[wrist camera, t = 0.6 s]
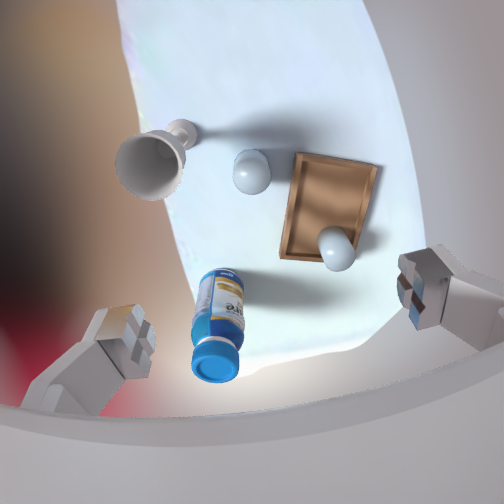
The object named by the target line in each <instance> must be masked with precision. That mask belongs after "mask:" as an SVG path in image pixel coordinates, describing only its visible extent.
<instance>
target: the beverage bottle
mask: <svg viewBox="0 0 504 504" xmlns="http://www.w3.org/2000/svg"><path fill="white" fill-rule="evenodd" d="M243 291H244V287H243V282H242V280H241V278H240V277H239V276H238V275H237V274H236V273H234V272H232V271H230V270H227V269H215V270H211V271H209V272H208V273H206V274H205V275H204V276H203V277H202V279H201V281H200V285H199V293H198V298H197V303H196V309H195V313H194V315H193V319H192V327H193V328H192V330H191V338H192V342H193V345H194V347H195V349H194V351H193V356H192V363H191V364H192V365H191V366H192V371H193V373H194V374H195V375H196V376H197V377H198V378H200V379H201V380H204V381H206V382H210V383H224V382H228V381H230V380H232V379H234V378H235V377H236V376H237V374H238V371H239V353H238V351H239V350H240V348H241V346H242V344H243V341H244V328H245V320H244V317H243Z"/></svg>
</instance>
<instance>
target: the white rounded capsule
mask: <svg viewBox="0 0 504 504" xmlns="http://www.w3.org/2000/svg"><path fill="white" fill-rule="evenodd" d="M317 245H318V248H319V250H320V253H321V255H322V258H323V260H324V263H325V265H326V267H327V268H328V269H329V270H331V271H335V272H339V271H344V270H346V269H348V268H349V267H350V266H351V265H352V264H353V263H354V261H355V258H356V253H355V250H354V248H353V246H352V245H351V243H350V241H349V239H348V238H347V236H346V234H345V232H344V231H343V230H342V229H341V228H340V227H337V226H328V227H326V228H324V229H322V230H321V231H320V233H319V234H318V236H317Z"/></svg>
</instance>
